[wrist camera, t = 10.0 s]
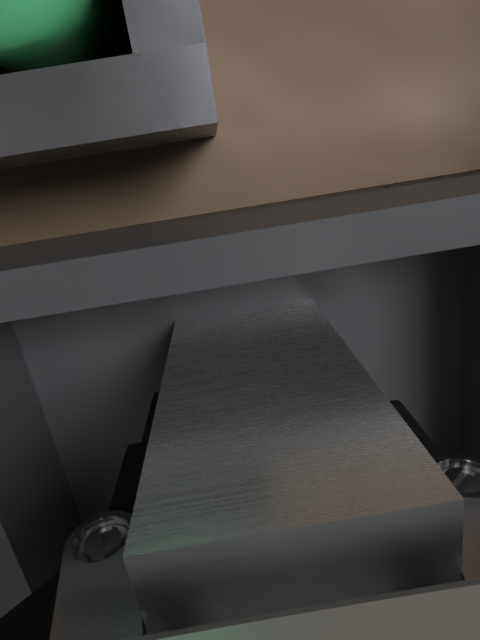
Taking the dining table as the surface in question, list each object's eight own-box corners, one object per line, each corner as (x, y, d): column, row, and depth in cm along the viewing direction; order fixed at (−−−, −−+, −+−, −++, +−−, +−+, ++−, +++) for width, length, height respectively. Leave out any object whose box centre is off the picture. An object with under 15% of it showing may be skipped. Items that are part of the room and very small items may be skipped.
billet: (175, 321, 12) (122, 557, 5) (311, 298, 13) (464, 499, 5) (209, 479, 14) (208, 822, 7) (327, 459, 14) (454, 778, 7)
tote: (-31, 251, 12) (-155, 296, 8) (481, 169, 13) (619, 171, 8) (75, 540, 16) (28, 673, 12) (469, 474, 16) (559, 582, 12)
